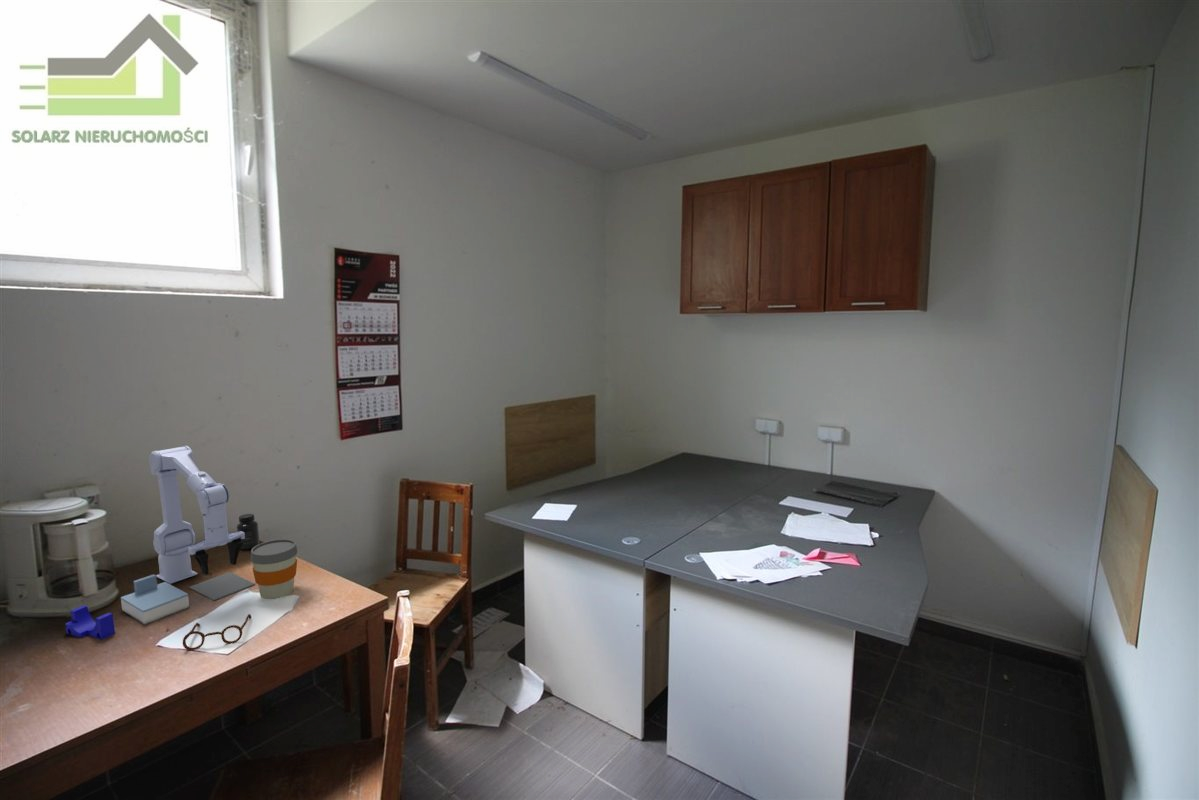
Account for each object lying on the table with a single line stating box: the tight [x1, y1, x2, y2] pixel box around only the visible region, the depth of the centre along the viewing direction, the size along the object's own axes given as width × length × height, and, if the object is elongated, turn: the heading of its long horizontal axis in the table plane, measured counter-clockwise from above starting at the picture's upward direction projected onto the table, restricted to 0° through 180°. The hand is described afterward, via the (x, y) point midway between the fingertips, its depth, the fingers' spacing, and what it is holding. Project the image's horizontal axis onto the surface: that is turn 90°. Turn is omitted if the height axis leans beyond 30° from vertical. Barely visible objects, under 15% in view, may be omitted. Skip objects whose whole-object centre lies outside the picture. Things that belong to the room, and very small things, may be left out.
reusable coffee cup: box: [250, 538, 298, 600], centre depth 172 cm, size 13×13×15 cm
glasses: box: [182, 613, 252, 651], centre depth 150 cm, size 13×13×5 cm
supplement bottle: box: [235, 513, 261, 551], centre depth 205 cm, size 7×7×12 cm
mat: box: [188, 571, 256, 602], centre depth 176 cm, size 15×12×1 cm
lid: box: [120, 574, 189, 613], centre depth 161 cm, size 14×11×6 cm
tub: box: [120, 595, 190, 625], centre depth 162 cm, size 14×11×4 cm
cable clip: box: [64, 604, 116, 640], centre depth 149 cm, size 12×4×6 cm, turn 71°
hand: (219, 568), depth 166 cm, fingers open, 7 cm apart
